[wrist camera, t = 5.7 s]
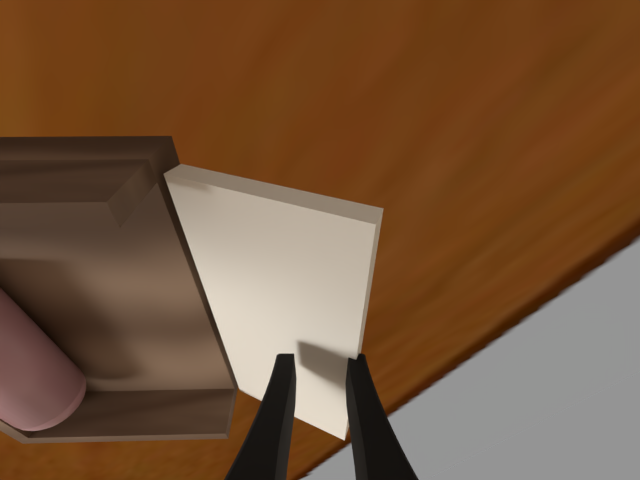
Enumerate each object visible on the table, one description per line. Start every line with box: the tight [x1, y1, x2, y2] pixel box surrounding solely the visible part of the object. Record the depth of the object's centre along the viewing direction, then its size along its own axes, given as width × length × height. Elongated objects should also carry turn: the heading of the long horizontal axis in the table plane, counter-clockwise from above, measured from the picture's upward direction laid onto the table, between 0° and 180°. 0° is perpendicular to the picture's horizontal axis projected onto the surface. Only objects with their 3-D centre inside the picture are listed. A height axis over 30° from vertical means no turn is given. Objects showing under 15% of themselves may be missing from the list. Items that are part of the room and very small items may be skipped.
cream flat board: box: [164, 164, 383, 440], centre depth 14 cm, size 15×1×7 cm
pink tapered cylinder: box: [0, 287, 86, 431], centre depth 14 cm, size 10×3×3 cm, turn 0°
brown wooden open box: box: [0, 136, 238, 444], centre depth 14 cm, size 16×12×4 cm
